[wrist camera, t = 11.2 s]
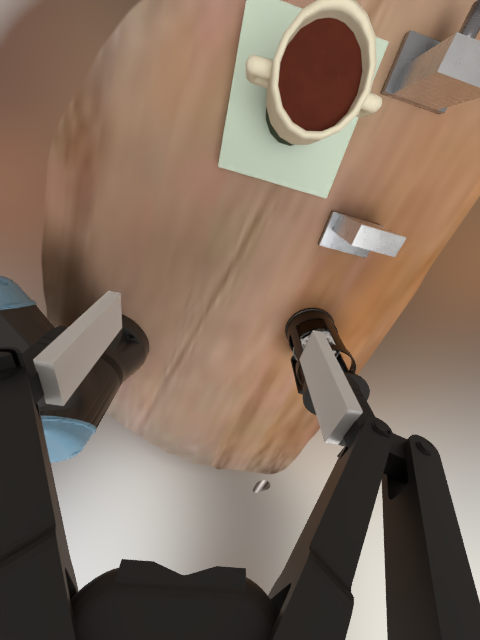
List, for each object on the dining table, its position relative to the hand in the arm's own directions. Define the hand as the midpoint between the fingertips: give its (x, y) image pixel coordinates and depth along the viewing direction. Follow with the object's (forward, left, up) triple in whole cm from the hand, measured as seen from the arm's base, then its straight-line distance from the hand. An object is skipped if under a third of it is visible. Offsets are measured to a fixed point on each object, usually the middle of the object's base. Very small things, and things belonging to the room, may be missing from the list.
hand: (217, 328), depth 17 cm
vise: (+17, +14, -26) cm, 34 cm away
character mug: (+3, +16, -22) cm, 28 cm away
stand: (+3, +16, -26) cm, 31 cm away
